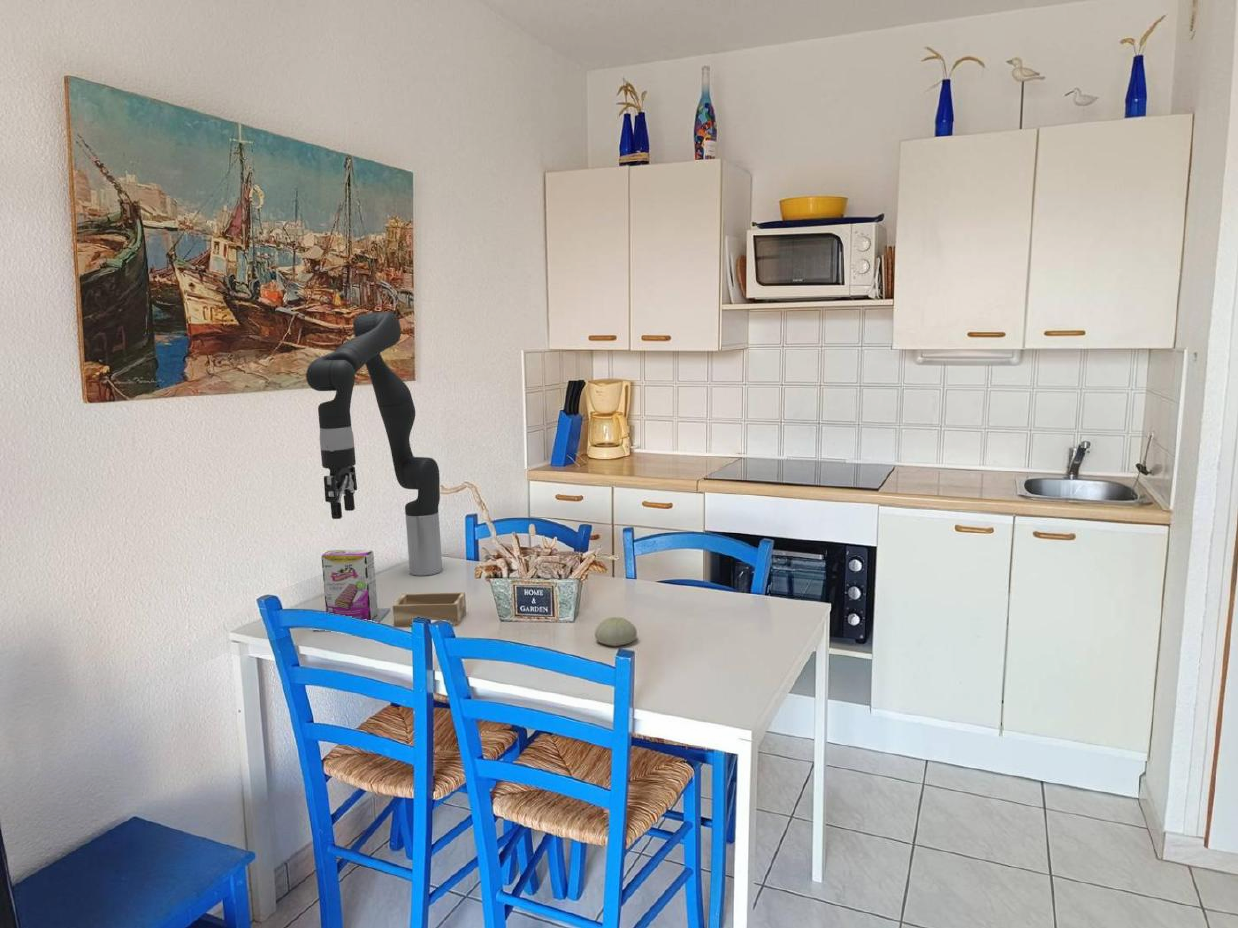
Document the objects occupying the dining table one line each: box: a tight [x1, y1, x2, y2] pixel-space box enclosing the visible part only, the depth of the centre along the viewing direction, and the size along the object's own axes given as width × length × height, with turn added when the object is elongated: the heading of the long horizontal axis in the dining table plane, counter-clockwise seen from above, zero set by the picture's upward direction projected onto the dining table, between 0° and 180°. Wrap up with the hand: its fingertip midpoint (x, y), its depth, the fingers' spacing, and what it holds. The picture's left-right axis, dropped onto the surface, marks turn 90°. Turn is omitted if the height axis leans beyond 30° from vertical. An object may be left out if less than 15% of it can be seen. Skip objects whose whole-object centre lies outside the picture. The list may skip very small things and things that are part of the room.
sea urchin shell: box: [594, 616, 637, 647], centre depth 187 cm, size 9×8×8 cm
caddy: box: [392, 592, 467, 627], centre depth 205 cm, size 9×15×5 cm, turn 88°
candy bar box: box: [321, 549, 378, 620], centre depth 205 cm, size 11×5×16 cm, turn 85°
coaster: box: [312, 607, 391, 632], centre depth 206 cm, size 14×14×1 cm
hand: (343, 514), depth 202 cm, fingers open, 8 cm apart
